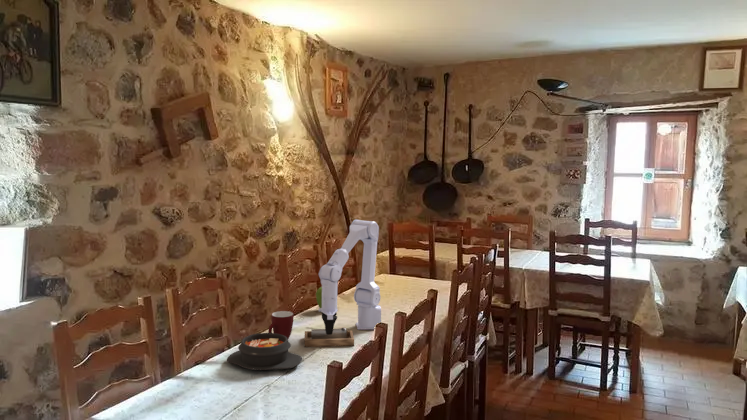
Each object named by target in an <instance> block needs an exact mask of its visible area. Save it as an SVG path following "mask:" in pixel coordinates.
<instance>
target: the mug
mask: <svg viewBox="0 0 747 420" xmlns="http://www.w3.org/2000/svg"><path fill="white" fill-rule="evenodd" d="M293 325H294V312H292V311H288V310H280V311H279V310H278V311H274V312H272V313H271V324H270V325H269V327H268V332H267V333H277V334H281V335H284V336H286V337H287V339H288V340H289V338H291V335H292V332H293Z"/></svg>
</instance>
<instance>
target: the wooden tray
mask: <svg viewBox="0 0 747 420" xmlns="http://www.w3.org/2000/svg"><path fill="white" fill-rule="evenodd" d="M346 330H347V329H346ZM324 347H325V348H326V347H327V348H329V347H332V348H333V347H355V337H354V333H353V330H351V329H350V330H347V337H346V338H343V339H311V330H306V331H305V330H304V348H324Z"/></svg>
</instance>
